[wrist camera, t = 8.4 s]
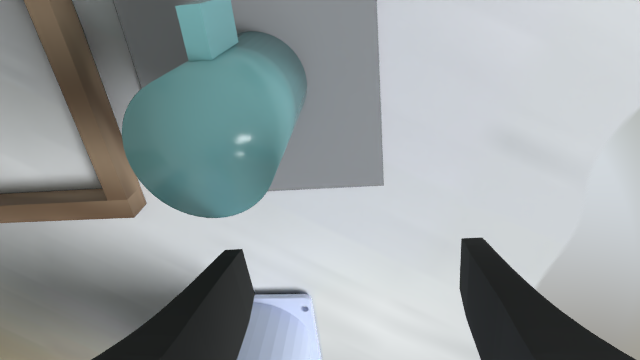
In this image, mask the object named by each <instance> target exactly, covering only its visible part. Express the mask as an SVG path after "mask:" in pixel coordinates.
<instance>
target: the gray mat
mask: <svg viewBox="0 0 640 360" xmlns="http://www.w3.org/2000/svg"><path fill="white" fill-rule="evenodd" d="M113 1H114V4H115V8H116V11H117V14H118V17H119V20H120V23H121V26H122V29H123V32H124V35H125V38H126V42H127V45H128V48H129V51H130V54H131V57H132V60H133V63H134V66H135V69H136V73H137V76H138V79H139V82H140V85H141V88H143V87H145V86H146V85H148V84H149V83H151V82H152V81H154V80H156V79H158V78H159V77H161V76H163V75H164V74H166V73H168V72H170V71H171V70H173V69H175V68H177V67H178V66H180V65H182V64H184V63H185V62H187V61H189V60H188V56H187V52H186V48H185V44H184V40H183V36H182V32H181V28H180V24H179V20H178V16H177V12H176V8H175V6H177V5H181V4H185V3H189V2H193V1H198V0H113ZM231 4H232V10H233V15H234V21H235V26H236V31H237V34H238V33H241V32H247V31H257V32H263V33H267V34H270V35H272V36H275V37H277V38H278V39H280V40H282V41H283V42H284V43H286V44H287V45H288V46H289V47H290V48H291V49H292V50H293V51H294V52H295V53H296V55H297V56H298V58H299V59H300V61H301V63H302V65H303V67H304V71H305V74H306V79H307V95H306V99H305V102H304V105H303V108H302V110H301V113H300V115H299V117H298V120H297V122H296V125H295V127H294V130H293V132H292V135H291V137H290V139H289V142H288V144H287V147H286V149H285V152H284V154H283V157H282V159H281V161H280V164H279V166H278V169H277V171H276V174H275V176H274V179H273V181H272V183H271V185H270V187H269V189H268V191H280V190H300V189H321V188H342V187H362V186H383V185H384V179H383V153H382V128H381V102H380V76H379V51H378V25H377V0H231Z"/></svg>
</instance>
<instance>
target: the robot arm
mask: <svg viewBox="0 0 640 360" xmlns="http://www.w3.org/2000/svg"><path fill="white" fill-rule="evenodd" d="M460 292H461V297H462V301H463V306H464V310H465V314H466V318H467V321H468V324H469V327H470V330H471V333H472V336H473V338H474V341H475V344H476V347H477V350H478V352H479V355H480V358H481V360H635V359H634V358H632V357H630V356H629V355H627V354H625V353H623V352H622V351H620V350H618V349H617V348H615V347H614V346H612V345H610V344H609V343H607V342H606V341H604V340H602V339H600V338H599V337H598V336H596V335H595V334H593V333H591V332H590V331H589V330H587V329H585V328H584V327H583V326H581V325H580V324H578V323H577V322H576V321H574V320H573V319H571V318H570V317H569V316H567V315H566V314H565V313H563V312H562V311H560V310H559V309H558V308H557V307H555V306H554V305H553V304H552V303H550V302H549V301H548V300H547V299H546V298H544V297H543V296H542V295H541V294H540V293H538V292H537V291H536V290H535V289H534V288H533V287H532V286H531V285H529V284H528V283H527V282H526V281H525V280H524V279H523V278H522V277H521V276H520V275H519V274H518V273H517V272H516V271H514V270H513V269H512V268H511V267H510V266H509V265H508V264H507V263H506V262H505V261H504V260H503V259H502V258H501V257H500V256H499V254H498V253H497V252H496V251H495V250H494V249H493V248H492V247H491V246H490V245H489V244H488V243H487V242H486V241H485V240H484V239H483V238H464V239H462V241H461V266H460ZM303 306H306V307H303ZM92 360H321V353H320V347H319V341H318V335H317V328H316V322H315V316H314V310H313V304H312V299H311V297H310V296H309V295H307V294H258V295H255V294H254V290H253V286H252V283H251V279H250V276H249V272H248V268H247V265H246V261H245V258H244V254H243V250H242V249H237V250H225V251H224V252H223V253H221V254H220V255H219V256H218V257H217V258H216V259H215V260H214V261H213V262H212V263H211V264H210V265H209V266H208V267H207V268H206V269H205V270H204V271H203V272H202V273H201V274H200V275H199V276H198V277H197V278H196V279H195V280H194V281H193V282H192V283H191V284H190V285H189V286H188V287H187V288H186V289H185V290H184V291H182V292H181V293H180V294H179V295H178V296H177V297H176V298H175V299H173V300H172V301H171V302H170V303H169V304H168V305H167V306H166V307H164V308H163V309H162V310H161V311H160V312H159V313H157V314H156V315H155V316H154V317H152V318H151V319H150V320H149V321H147V322H146V323H145V324H143V325H142V326H141V327H139V328H138V329H137V330H136V331H134V332H133V333H131V334H130V335H129V336H127V337H126V338H124V339H123V340H121V341H120V342H118V343H117V344H115V345H114V346H112V347H111V348H109V349H108V350H106V351H105V352H103V353H102V354H100V355H98V356H97V357H95V358H93V359H92Z"/></svg>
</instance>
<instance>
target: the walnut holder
mask: <svg viewBox="0 0 640 360" xmlns="http://www.w3.org/2000/svg"><path fill="white" fill-rule="evenodd" d="M24 2H25V5H26V7H27V10H28V12H29V14H30V17H31V19H32V21H33V24H34V26H35V29H36V31H37V33H38V36H39V38H40V41H41V43H42V45H43V48H44V50H45V52H46V55H47V57H48V60H49V62H50V64H51V67H52V69H53V72H54V74H55V76H56V79H57V81H58V83H59V86H60V88H61V91H62V93H63V95H64V98H65V100H66V103H67V105H68V107H69V110H70V112H71V114H72V117H73V119H74V122H75V124H76V126H77V129H78V131H79V134H80V136H81V138H82V141H83V143H84V145H85V148H86V150H87V153H88V155H89V157H90V160H91V162H92V165H93V167H94V169H95V172H96V174H97V176H98V179H99V181H100V184H101V186H102V188H103V189H85V190H66V191H46V192H27V193H8V194H0V223H13V222H38V221H62V220H86V219H110V218H134V217H135V216H136V215H137V214H138V213H139V212H140V210H141V209H142V208H143V207H144V206H145V205H146V201H145V198H144V196H143V193H142V190H141V187H140V185H139V182H138V179H137V177H136V175H135V173H134V171H133V170H132V168H131V166H130V164H129V162H128V159H127V157H126V154H125V151H124V147H123V140H122V136H121V133H120V130H119V128H118V125H117V122H116V119H115V117H114V114H113V111H112V108H111V106H110V103H109V100H108V98H107V95H106V92H105V89H104V87H103V84H102V81H101V79H100V76H99V73H98V70H97V68H96V65H95V62H94V60H93V57H92V54H91V51H90V49H89V46H88V43H87V40H86V38H85V35H84V32H83V30H82V27H81V24H80V21H79V19H78V16H77V13H76V11H75V8H74V5H73V2H72V0H24Z"/></svg>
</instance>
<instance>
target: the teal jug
mask: <svg viewBox="0 0 640 360" xmlns="http://www.w3.org/2000/svg"><path fill="white" fill-rule="evenodd" d="M175 8H176V12H177V16H178V20H179V24H180V28H181V32H182V36H183V40H184V44H185V48H186V52H187V56H188V60H189V61H187V62H185V63H184V64H182V65H180V66H178V67H177V68H175V69H173V70H171V71H170V72H168V73H166V74H164V75H163V76H161V77H159V78H158V79H156V80H154V81H152V82H151V83H149V84H148V85H146V86H145V87H143V88H142V89H141V90H140V91H139V92H138V93H137V94H136V95H135V96H134V97H133V99H132V100H131V102H130V103H129V105H128V107H127V109H126V112H125V115H124V119H123V125H122V140H123V147H124V151H125V154H126V157H127V159H128V162H129V164H130V166H131V168H132V170H133V171H134V173H135V175H136V176H137V177H138V179H139V180H140V182H141V183H142V184H143V185H144V186H145V187H146V188H147V189H148V190H149V191H150V192H151V193H152V194H153V195H154V196H155V197H157V198H158V199H159V200H161V201H162V202H164V203H165V204H167V205H169V206H170V207H172V208H175V209H177V210H179V211H181V212H184V213H187V214H190V215H194V216H198V217H206V218H221V217H228V216H233V215H236V214H239V213H242V212H244V211H246V210H248V209H249V208H251V207H252V206H254V205H255V204H256V203H257V202H258V201H260V200H261V199H262V198H263V196H264V195H265V194H266V192H267V191H268V189H269V187H270V185H271V183H272V181H273V179H274V176H275V174H276V171H277V169H278V166H279V164H280V161H281V159H282V157H283V154H284V152H285V149H286V147H287V144H288V142H289V139H290V137H291V135H292V132H293V130H294V127H295V125H296V122H297V120H298V117H299V115H300V113H301V110H302V108H303V105H304V102H305V99H306V95H307V79H306V74H305V71H304V67H303V65H302V63H301V61H300V59H299V58H298V56H297V55H296V53H295V52H294V51H293V50H292V49H291V48H290V47H289V46H288V45H287V44H286V43H284V42H283V41H282V40H280V39H278V38H277V37H275V36H272V35H270V34H267V33H263V32H257V31H247V32H241V33H238V34H237V31H236V26H235V21H234V15H233V10H232V4H231V0H198V1H193V2H189V3H185V4H181V5H177V6H175Z"/></svg>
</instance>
